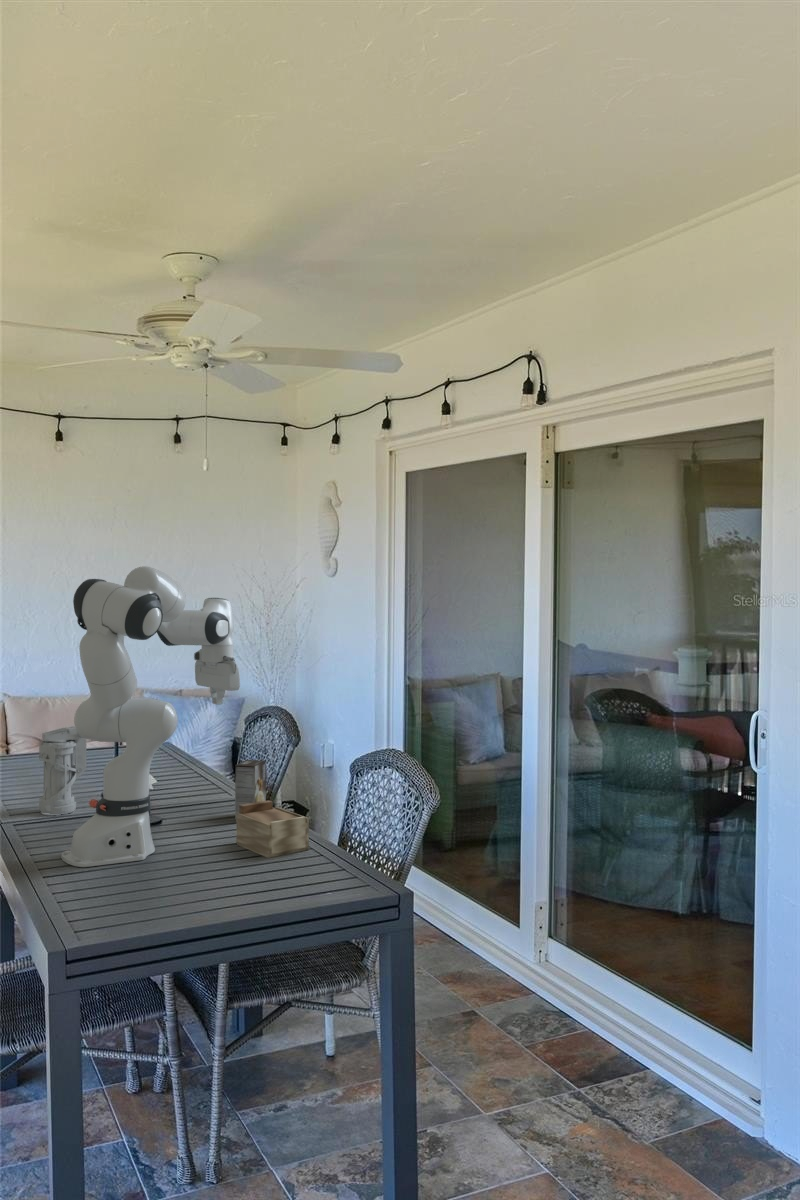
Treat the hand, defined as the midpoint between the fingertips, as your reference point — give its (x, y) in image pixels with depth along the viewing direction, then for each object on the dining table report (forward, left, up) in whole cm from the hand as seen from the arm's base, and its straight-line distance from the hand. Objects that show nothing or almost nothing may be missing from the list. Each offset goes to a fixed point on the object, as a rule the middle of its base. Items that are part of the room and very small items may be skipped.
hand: (217, 704), depth 276 cm
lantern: (-29, +42, -34) cm, 62 cm away
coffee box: (+12, +2, -34) cm, 36 cm away
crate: (0, -30, -34) cm, 45 cm away
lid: (0, -29, -27) cm, 40 cm away
